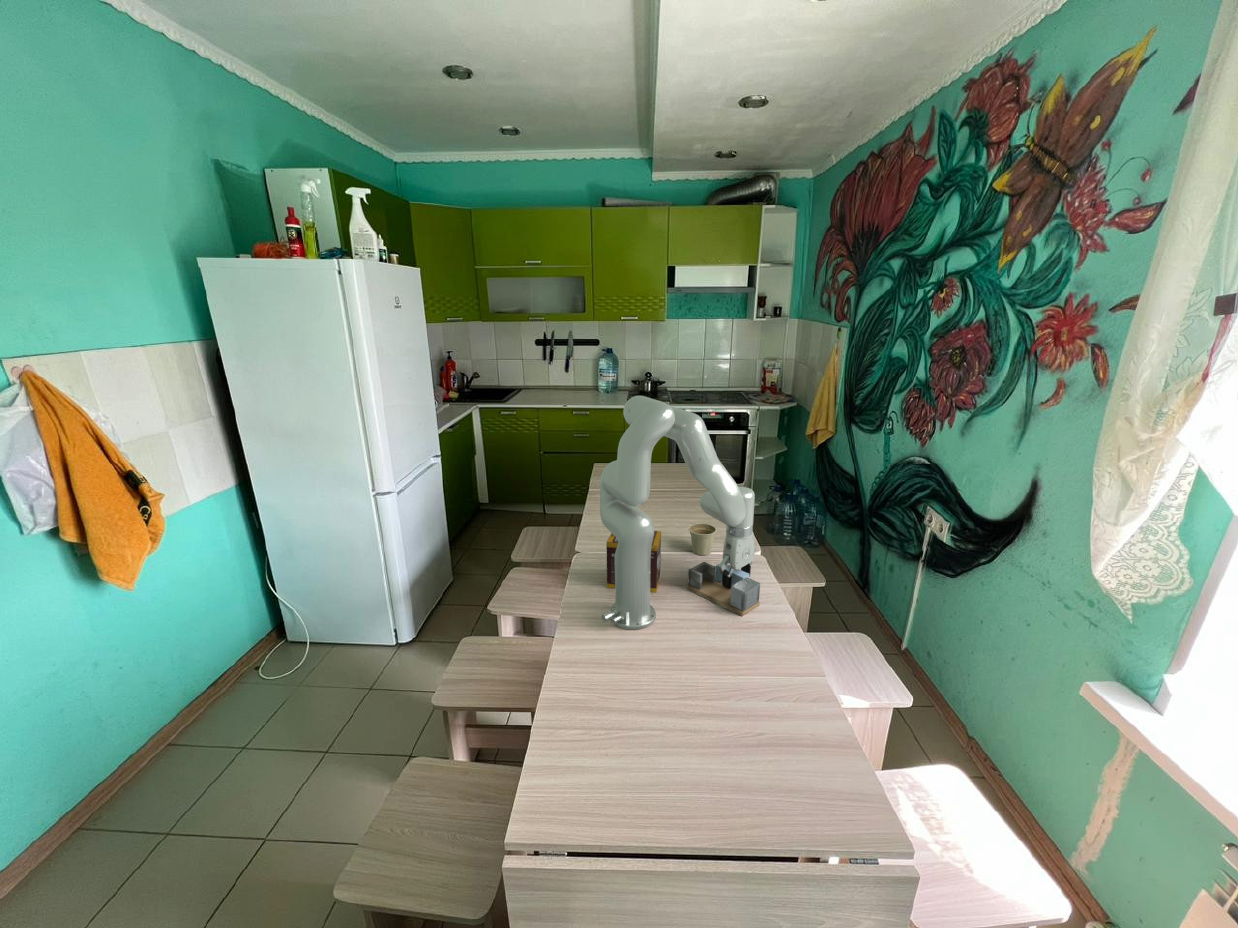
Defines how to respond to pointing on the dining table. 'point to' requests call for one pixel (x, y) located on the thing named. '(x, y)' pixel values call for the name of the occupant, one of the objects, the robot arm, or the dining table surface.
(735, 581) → the light blue block
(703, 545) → the flower pot
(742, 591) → the grey concrete block
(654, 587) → the supplement box
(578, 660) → the dining table surface
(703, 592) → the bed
